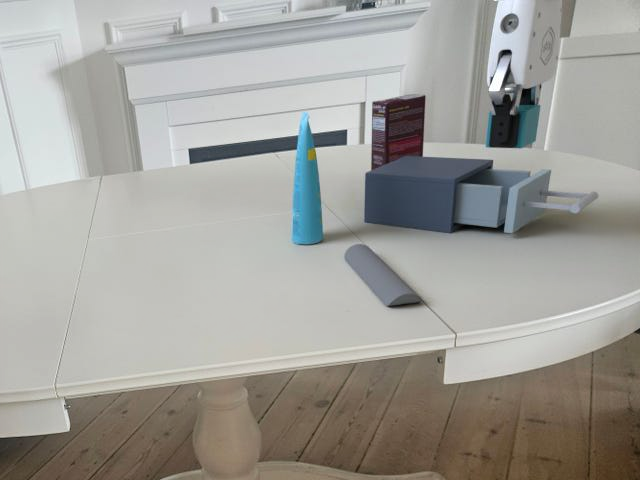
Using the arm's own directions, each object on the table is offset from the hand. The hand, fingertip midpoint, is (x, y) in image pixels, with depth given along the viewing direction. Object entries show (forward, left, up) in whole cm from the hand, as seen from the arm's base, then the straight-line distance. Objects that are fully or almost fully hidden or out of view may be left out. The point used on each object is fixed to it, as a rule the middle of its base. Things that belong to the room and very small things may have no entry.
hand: (511, 141), depth 82 cm
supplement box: (+30, -25, -14) cm, 41 cm away
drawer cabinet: (+15, -8, -14) cm, 22 cm away
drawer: (+2, -8, -13) cm, 15 cm away
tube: (+25, +10, -14) cm, 30 cm away
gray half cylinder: (+7, +20, -14) cm, 25 cm away
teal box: (0, 0, 0) cm, 0 cm away
